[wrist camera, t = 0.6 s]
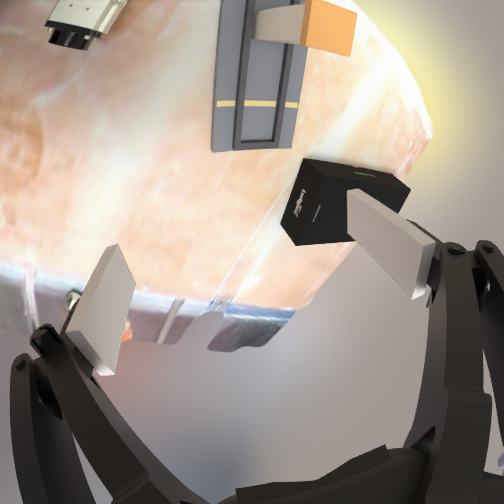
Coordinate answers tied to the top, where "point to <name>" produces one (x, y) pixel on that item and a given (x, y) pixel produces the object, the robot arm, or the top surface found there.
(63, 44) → the pneumatic valve
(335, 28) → the fader knob
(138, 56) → the top surface
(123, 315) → the robot arm
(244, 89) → the slider console
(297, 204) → the box
